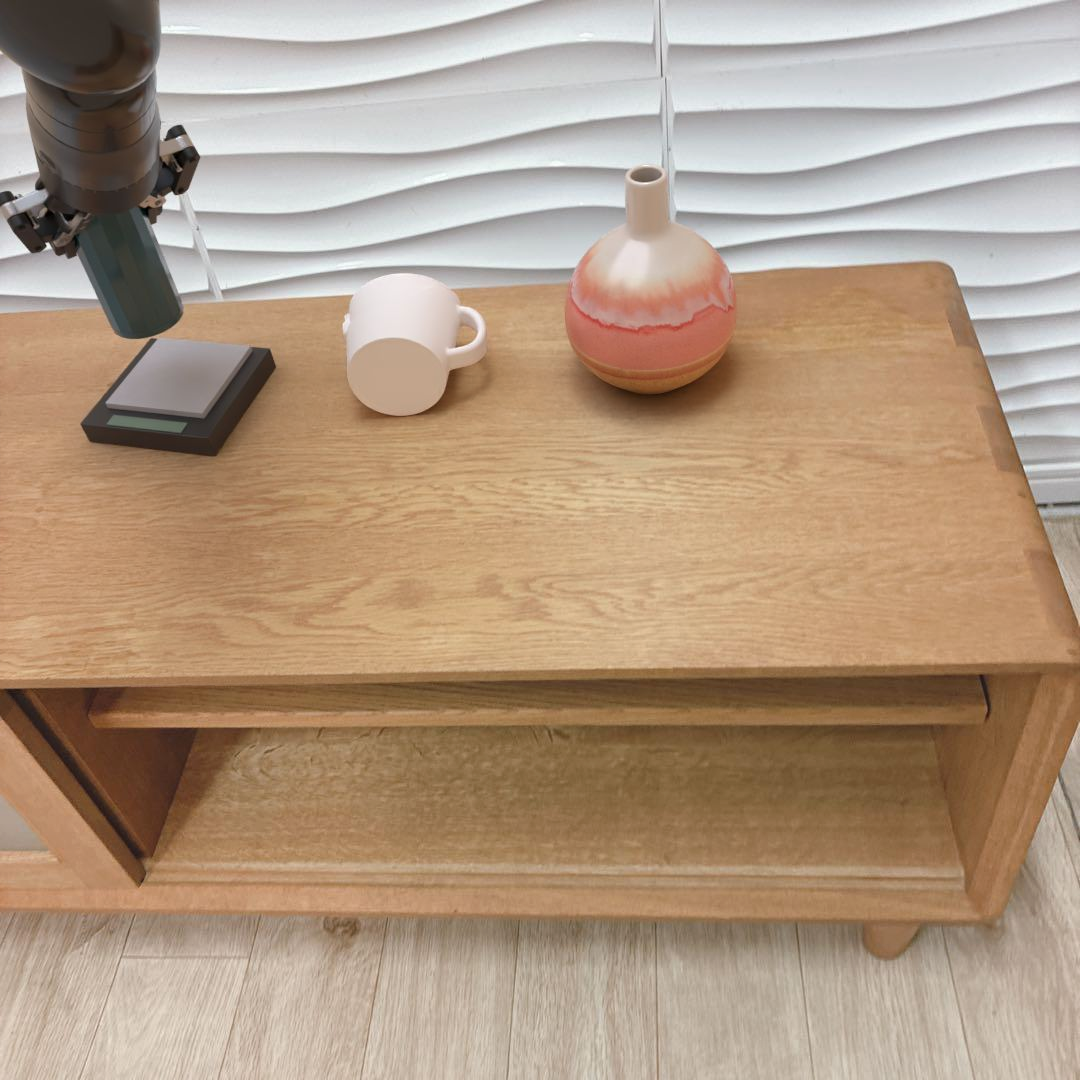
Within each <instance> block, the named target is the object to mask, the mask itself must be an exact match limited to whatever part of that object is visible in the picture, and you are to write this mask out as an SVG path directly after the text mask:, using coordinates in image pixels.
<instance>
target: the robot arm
mask: <svg viewBox="0 0 1080 1080" xmlns="http://www.w3.org/2000/svg"><path fill="white" fill-rule="evenodd" d="M160 6H161V4H160V0H0V52H1V53H2V54H3V55H4V56H5V57H6V58H7V59H9V60H10V61H11V62H13V63H14V64H16V65H17V66H18V67H20V69H21V74H22V78H23V84H24V88H25V91H26V93H25V111H26V118H27V120H26V121H27V125H28V129H29V133H30V138H31V143H32V147H33V150H34V155H35V161H36V164H37V169H38V172H39V177H38V178H37V179H36V181H35V183H34V190H33V191H31V192H29V193H27V194H25V195H23V194H22V193H17V194H16V195H14V194H13V192H12V191H10V190H4V191H1V192H0V212H1V214H2V216H3V217H4V219H5V221H6V223H7V224H8V226H9V228H10V229H11V231H12V233H13V234H14V235H15V236H16V237H17V238H18V239H19V241H20V242H21V243H22V244H23V245H24V247H25V248H26V249H27V250H28V252H29V253H30V254H38V253H41V252H43V251H44V250H46V249H47V247H48V245H47V244H49V246H50V247H51V249H52V251H53V252H54V254H55V256H57V257H61V256H63V255H65V258H66V259H67V260H70V259H73V258H75V257H78V255H77V253H76V247H75V241H74V239H73V237H74V235H75V234H79V233H83V232H85V231H86V230H87V229H88V227H89V226H90V225H91V223H92V222H93V220H94V219H95V218H96V217H97V216H101V215H113V214H119V213H123V212H126V211H129V210H131V209H133V208H135V207H136V206H138V205H139V206H141V207H143V208H145V211H146V213H147V216H148V218H149V221H150V223H151V226H153V225H155V224H157V223H158V216H161V214H162V213H163V211H164V210H163V208H164V207H163V206H164V204H165V203H167V199H166V197H167V195H168V194H170V193H172V194H173V195H174V196H180V195H181V196H182V195H184V194H185V193H187V191H188V190H189V189H190V186H191V183H192V181H193V178H194V176H195V173H196V170H197V168H198V165H199V163H200V159H201V155H200V154H199V152H198V150H197V148H196V146H195V144H194V143H193V141H192V139H191V138H190V136H189V134H188V132H187V131H186V129H185V127H184V125H182V124H177V125H173V126H172V127H170V128H169V129H168V130H167V132H166V134H165V137H164V138H161V128H162V121H161V115H160V109H159V104H158V101H157V85H158V82H157V80H158V79H157V64H158V61H159V59H160V53H161V48H162V47H161V46H162V21H161V20H162V19H161V7H160Z"/></svg>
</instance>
